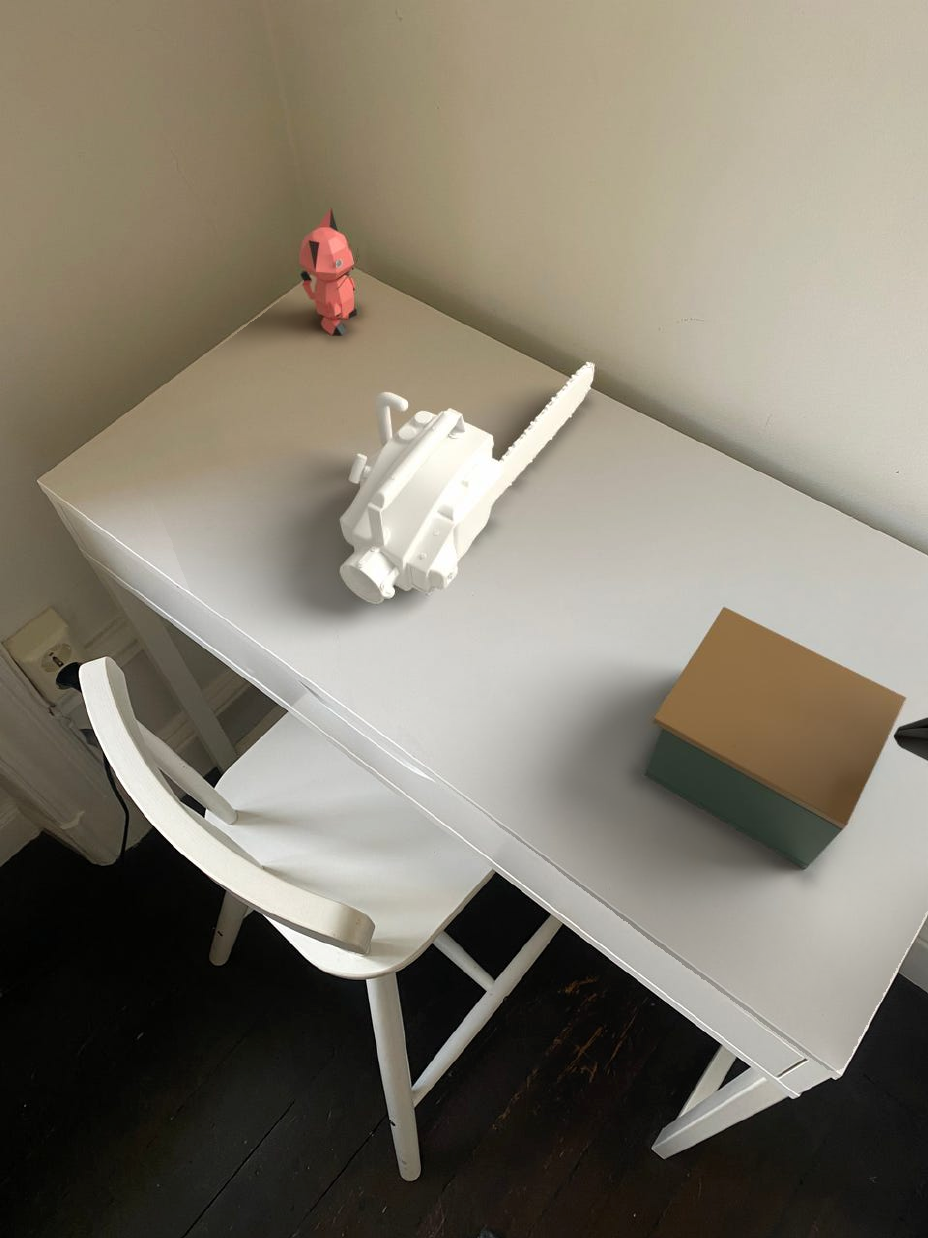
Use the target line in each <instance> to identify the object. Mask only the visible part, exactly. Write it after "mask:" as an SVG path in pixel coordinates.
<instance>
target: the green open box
mask: <svg viewBox="0 0 928 1238" xmlns="http://www.w3.org/2000/svg"><path fill="white" fill-rule="evenodd" d="M644 776H645V777H646V778H649V779H650V780H651V781H653V782H655V783H657V784H659V785H660V786H661V787H664V788H665V789H667V790H668V791H671V792H672V793H673V794H675V795H677V796H679V797H681V798H682V799H684V800H686V801H687V802H689V803H691V804H693V805H695V806H696V807H698V808H700V809H702V810H704V811H705V812H706V813H708V814H710V815H712V816H713V817H715V818H717V819H718V820H719V821H722V822H723V823H726V824H727V825H729V826H731V827H732V828H734V829H736V830H737V831H739V832H741V833H742V834H745V835H746V836H748V837H749V838H751V839H753V840H755V841H756V842H758V843H760V844H761V845H763V846H764V847H767V848H768V849H770V850H772V851H774V852H775V853H777V854H778V855H780V856H782V857H784V858H785V859H787V860H789V861H790V862H792V863H794V864H796V865H797V866H799V867H801V868H803V869H804V870H806V869H808V868H809V867H810V866H811V864H812V863H814V861H815V860H816V859H817V858H818V857H819V856H820V855H821V854H822V853H823V852H824V851H825V849H826V848H827V847H828V846H829V845H830V844H831V843H832V842H833V841H834V840H835V839H836V838H837V837H838V835H840V834H841V832H842V831H844V829H842V828H840V827H838V826H836V825H834V824H833V823H831V822H829V821H827V820H825V819H824V818H822V817H820V816H818V815H816V814H815V813H813V812H811V811H809V810H808V809H806V808H804V807H802V806H800V805H799V804H797V803H795V802H793V801H791V800H790V799H788V798H786V797H784V796H782V795H781V794H779V793H777V792H775V791H774V790H772V789H770V788H768V787H766V786H765V785H763V784H761V783H759V782H757V781H756V780H754V779H752V778H750V777H748V776H747V775H745V774H743V773H741V772H740V771H738V770H736V769H734V768H732V767H731V766H729V765H727V764H725V763H723V762H722V761H720V760H718V759H716V758H714V757H713V756H711V755H709V754H707V753H706V752H704V751H702V750H700V749H698V748H697V747H695V746H693V745H691V744H689V743H688V742H686V741H684V740H682V739H680V738H679V737H677V736H675V735H673V734H672V733H670V732H668V731H666V730H664V729H663V728H661V729H660V732H659V735H658V737H657V739H656V742H655V745H654V748H653V750H652V754H651V755H650V758H649V762H648V764H647V767H646V769H645V773H644Z"/></svg>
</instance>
